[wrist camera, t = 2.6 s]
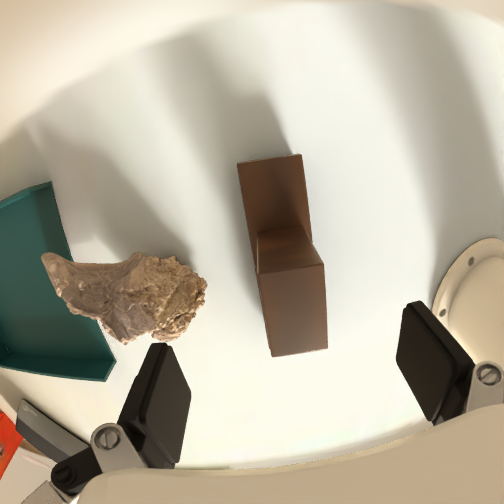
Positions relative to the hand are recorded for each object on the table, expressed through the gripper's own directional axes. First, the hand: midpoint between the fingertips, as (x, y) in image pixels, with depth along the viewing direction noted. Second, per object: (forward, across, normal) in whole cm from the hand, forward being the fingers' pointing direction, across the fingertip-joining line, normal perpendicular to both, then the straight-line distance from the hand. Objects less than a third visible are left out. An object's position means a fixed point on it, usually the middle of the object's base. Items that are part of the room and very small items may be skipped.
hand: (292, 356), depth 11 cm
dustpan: (+12, +33, 0) cm, 35 cm away
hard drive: (+12, +41, +30) cm, 53 cm away
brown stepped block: (+12, -1, 0) cm, 12 cm away
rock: (+12, +12, 0) cm, 17 cm away
